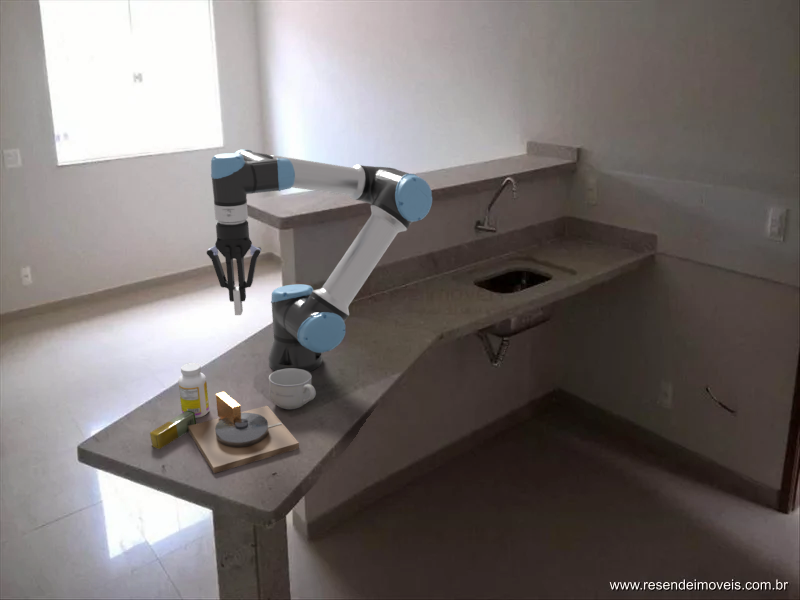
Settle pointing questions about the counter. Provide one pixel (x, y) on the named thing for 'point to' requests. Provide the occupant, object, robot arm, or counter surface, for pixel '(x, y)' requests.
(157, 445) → the medication box
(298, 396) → the teacup
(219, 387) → the counter surface
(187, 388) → the supplement bottle
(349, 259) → the robot arm
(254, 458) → the board
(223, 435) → the dial
